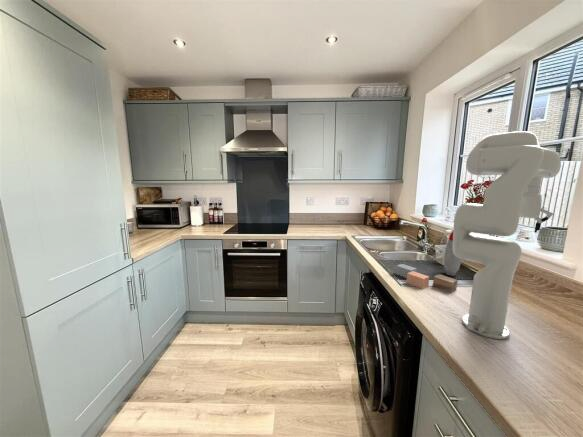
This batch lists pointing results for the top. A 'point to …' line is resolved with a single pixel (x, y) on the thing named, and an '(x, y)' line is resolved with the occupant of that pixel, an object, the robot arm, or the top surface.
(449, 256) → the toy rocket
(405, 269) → the slate-grey brick
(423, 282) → the terracotta brick
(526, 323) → the top surface
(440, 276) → the walnut brick
